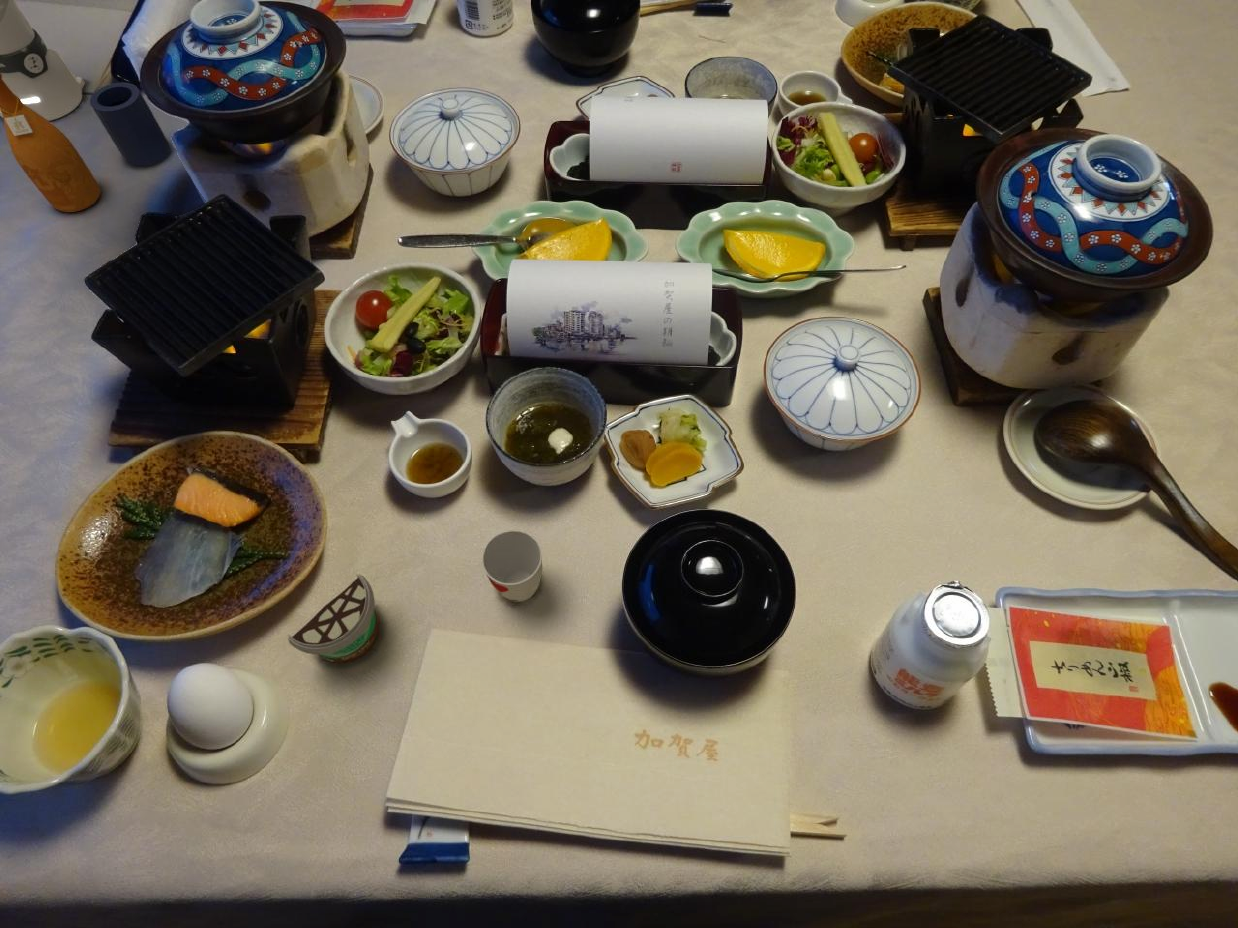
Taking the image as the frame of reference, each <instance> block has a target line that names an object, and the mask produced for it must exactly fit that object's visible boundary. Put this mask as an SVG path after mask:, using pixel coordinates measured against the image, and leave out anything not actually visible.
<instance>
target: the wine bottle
mask: <svg viewBox="0 0 1238 928" xmlns="http://www.w3.org/2000/svg"><path fill="white" fill-rule="evenodd" d="M0 110H1V112H2V115H3V118H2V119H3V123H4V129H5V134H6V138H7V142H8V145H9V147H10V150H11V152H12V155H13V157H14V158H15V160H16V162H17V163H18V165H19V166H20V168H21V169H22V170H23V172H24V173H25V174H26V176H27V177H28V178H29V180H30V181H31V182H32V183H33V184H34V187H36V188H37V190H38V191H39V193H41V195H42V197H44V199H46V201H47V202H48V203H49V204H50V205H51V206H52V207H53V208H54V209H55V210H57V211H60V212H65V213H74V212H80V211H83V210H86V209H87V208H89V207H91V206H92V205H94V204H95V203H96V202H97V200H98V199H99V197H100V196H101V187H100V185H99V183H98V181H97V180H96V178H95V176H94V175H93V173H92V171H91V170H90V168H89V167H88V165H87V164H86V162H85V161H84V159H83V157H82V156H81V155H80V153H79V152H78V150H77V148H76V147H75V145H74V144H73V143H72V142H71V140H70V139H69V138H68V137H67V135H66V134H64V133H63V131H62V130H61V129H59V128H58V127H57V126H55V125H54V123H52V122H51V121H48V120H46V119H45V118H44V117H42V116H41V115H39V114H38V113H36V112H35V111H33V110H32V109H30V108H29V107H28V106H26V105H25V104H24V103H23V102H22V101H21V100H20V99H19V98H18V97H17V96H16V95H15V94H13V93H12V91H11V90H10V89H9V88H8V86H7V85H6V84H5V83H4V81H3V80H2V75H1V73H0Z"/></svg>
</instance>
